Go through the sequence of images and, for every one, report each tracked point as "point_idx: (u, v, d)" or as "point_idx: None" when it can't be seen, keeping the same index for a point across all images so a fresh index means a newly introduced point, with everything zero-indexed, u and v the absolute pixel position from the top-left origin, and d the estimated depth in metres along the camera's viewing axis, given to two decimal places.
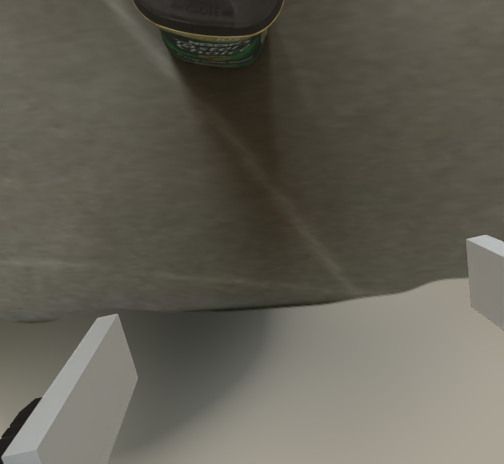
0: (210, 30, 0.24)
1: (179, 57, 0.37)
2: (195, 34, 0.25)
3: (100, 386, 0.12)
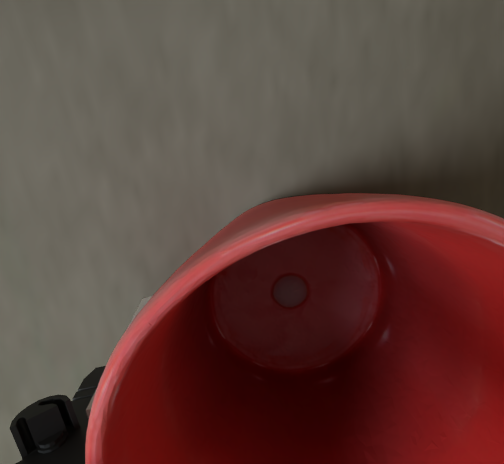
0: None
1: None
2: None
3: None
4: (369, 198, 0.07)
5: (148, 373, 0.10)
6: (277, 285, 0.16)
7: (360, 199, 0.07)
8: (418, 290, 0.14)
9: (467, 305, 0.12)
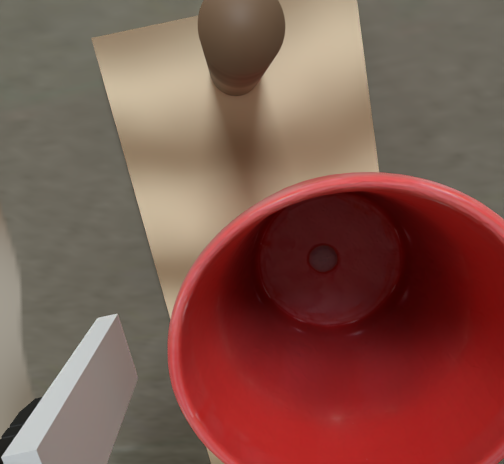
0: None
1: None
2: None
3: (100, 386, 0.12)
4: (346, 175, 0.10)
5: (207, 305, 0.14)
6: (312, 253, 0.20)
7: (340, 176, 0.10)
8: (427, 253, 0.17)
9: (457, 261, 0.14)
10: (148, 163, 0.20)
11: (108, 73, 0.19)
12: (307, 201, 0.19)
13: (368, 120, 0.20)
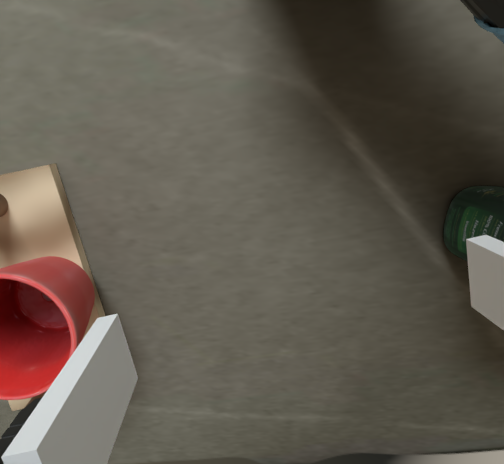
0: None
1: None
2: None
3: (100, 386, 0.12)
4: None
5: None
6: (43, 292, 0.40)
7: None
8: None
9: None
10: None
11: None
12: None
13: (67, 227, 0.39)
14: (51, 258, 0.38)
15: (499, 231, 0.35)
